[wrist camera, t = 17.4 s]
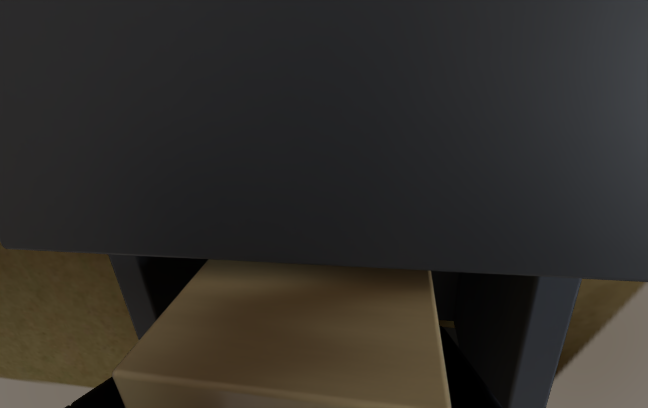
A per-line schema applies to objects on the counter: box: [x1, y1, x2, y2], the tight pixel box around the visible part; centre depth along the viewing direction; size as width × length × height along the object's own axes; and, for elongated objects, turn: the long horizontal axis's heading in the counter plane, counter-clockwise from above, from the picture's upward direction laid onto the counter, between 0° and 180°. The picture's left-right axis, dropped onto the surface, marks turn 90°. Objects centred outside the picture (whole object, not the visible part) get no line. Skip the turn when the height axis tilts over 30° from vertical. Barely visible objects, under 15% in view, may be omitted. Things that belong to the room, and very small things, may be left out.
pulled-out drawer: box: [108, 254, 582, 408], centre depth 13 cm, size 18×11×8 cm, turn 4°
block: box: [112, 259, 451, 408], centre depth 7 cm, size 4×4×4 cm
